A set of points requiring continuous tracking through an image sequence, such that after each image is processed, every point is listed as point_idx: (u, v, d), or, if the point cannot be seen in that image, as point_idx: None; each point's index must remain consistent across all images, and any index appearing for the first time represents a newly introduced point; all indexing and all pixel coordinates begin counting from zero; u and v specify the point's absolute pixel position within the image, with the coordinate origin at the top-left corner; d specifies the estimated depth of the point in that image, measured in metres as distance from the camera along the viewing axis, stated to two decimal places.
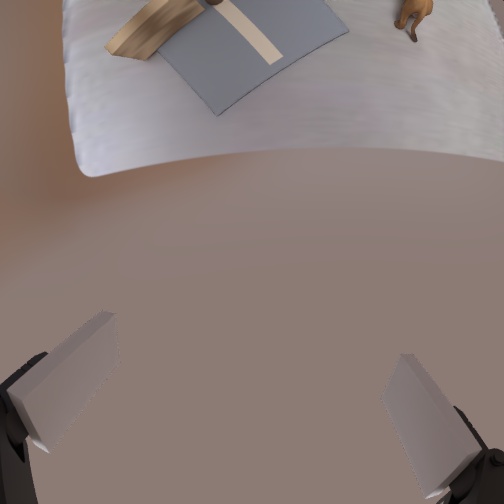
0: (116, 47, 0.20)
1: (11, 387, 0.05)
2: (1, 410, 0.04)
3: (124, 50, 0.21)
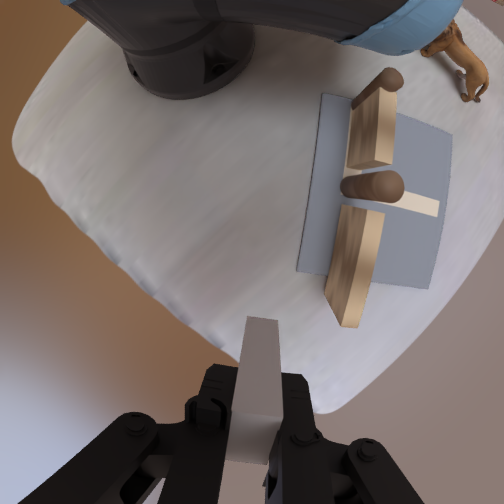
0: (358, 318, 0.22)
1: (234, 406, 0.07)
2: (226, 446, 0.06)
3: None
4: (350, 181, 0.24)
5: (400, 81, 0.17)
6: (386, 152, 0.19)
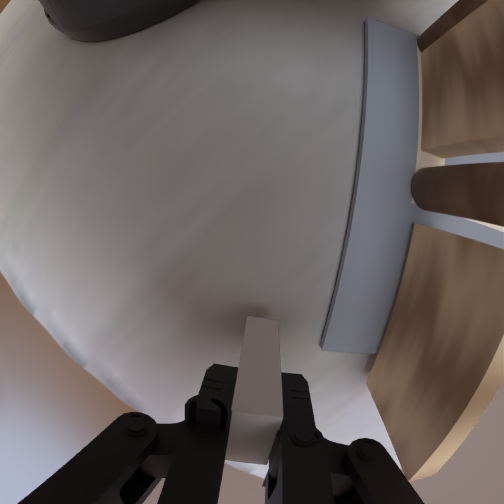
0: (441, 464, 0.07)
1: (234, 406, 0.07)
2: (226, 446, 0.06)
3: None
4: (450, 178, 0.09)
5: None
6: None
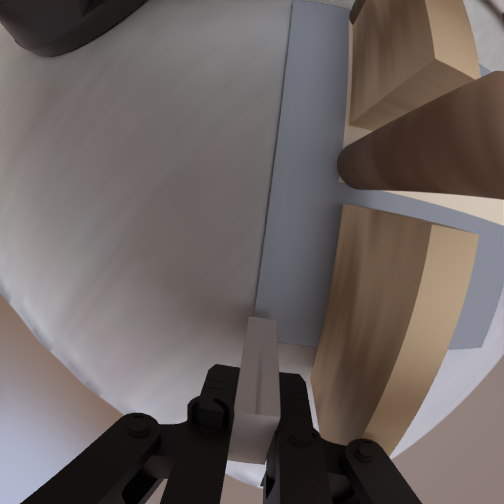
0: None
1: (236, 407, 0.07)
2: (229, 446, 0.06)
3: None
4: (361, 145, 0.09)
5: None
6: (461, 48, 0.04)
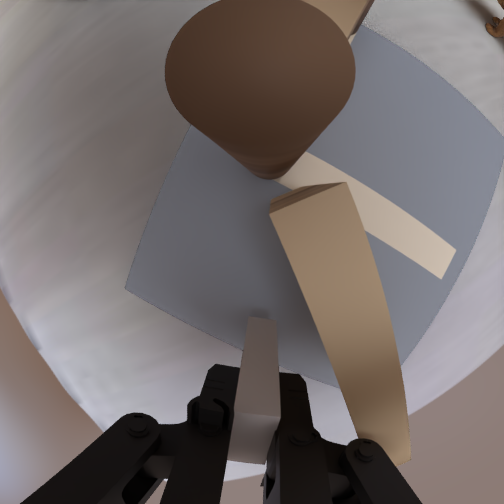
0: (405, 451, 0.07)
1: (236, 407, 0.07)
2: (229, 446, 0.06)
3: None
4: None
5: None
6: (328, 11, 0.04)
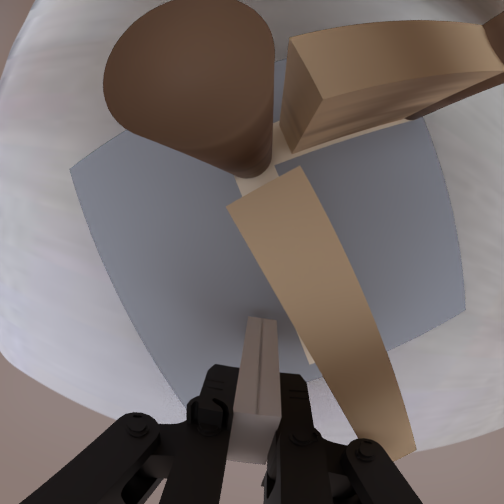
0: (408, 441, 0.06)
1: (235, 407, 0.07)
2: (228, 446, 0.06)
3: None
4: None
5: None
6: (347, 64, 0.04)
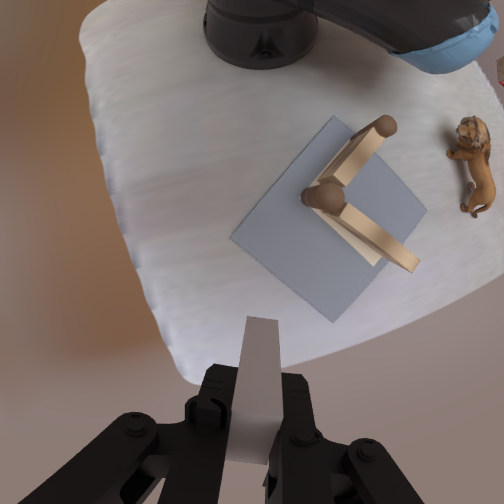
0: (413, 256, 0.25)
1: (234, 407, 0.07)
2: (226, 446, 0.06)
3: None
4: (309, 187, 0.28)
5: (392, 130, 0.21)
6: (346, 175, 0.24)
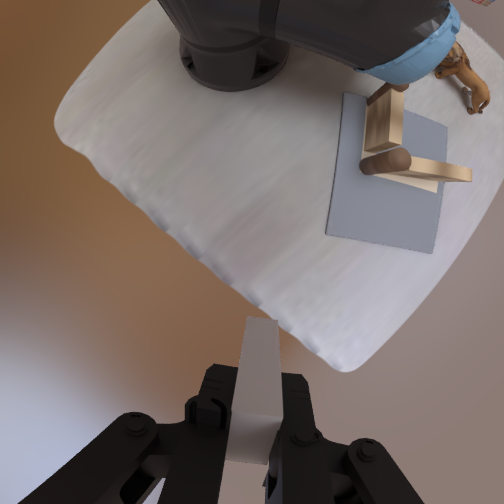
0: (466, 169, 0.25)
1: (234, 406, 0.07)
2: (226, 446, 0.06)
3: None
4: (369, 159, 0.30)
5: (406, 84, 0.22)
6: (397, 136, 0.25)
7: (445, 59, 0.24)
